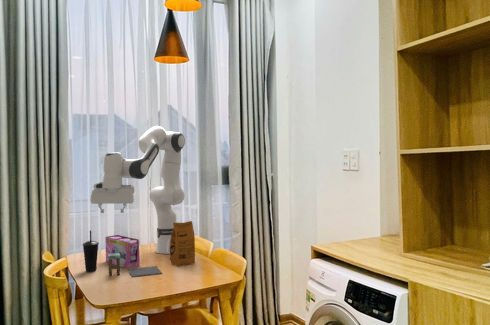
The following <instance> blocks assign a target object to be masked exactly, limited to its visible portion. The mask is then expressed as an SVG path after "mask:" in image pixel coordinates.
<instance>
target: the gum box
mask: <svg viewBox="0 0 490 325" xmlns="http://www.w3.org/2000/svg"><path fill="white" fill-rule="evenodd" d="M114 253H119V254H120V268H122V267H123V268H125V269H131V268H135V267H139V266H140V263H141V262H140V256H141V255H140V239H138V238H133V237H128V236H125V235H120V234H116V235H115V234H114V235H110V236H105V262H106V263H109V259H108V254H114ZM112 265H116V259H112Z"/></svg>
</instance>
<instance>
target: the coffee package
mask: <svg viewBox="0 0 490 325" xmlns="http://www.w3.org/2000/svg"><path fill="white" fill-rule="evenodd" d="M173 226H174V228H173V232H172V235H171V240H170V254H169V261H170V264H172V266H174V267H179V266H189V265H192V264H195V263H196V244H195V242H196V240H195V239H196V238H195V230H194V224H193V221H192V220H189V221H185V222H176V223H174V222H173Z"/></svg>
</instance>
